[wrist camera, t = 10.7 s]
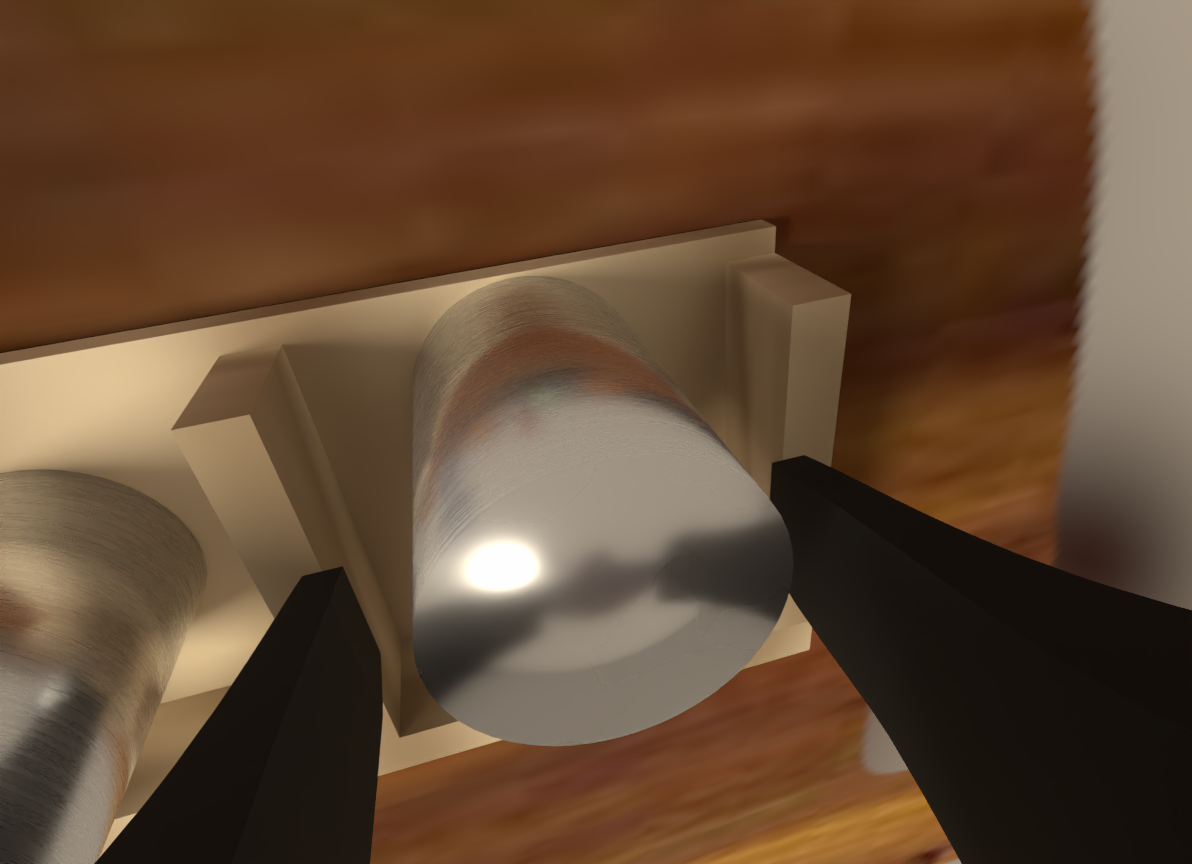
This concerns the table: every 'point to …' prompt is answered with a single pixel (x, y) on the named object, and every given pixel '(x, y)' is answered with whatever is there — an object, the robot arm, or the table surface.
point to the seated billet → (82, 652)
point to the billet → (576, 525)
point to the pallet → (391, 441)
